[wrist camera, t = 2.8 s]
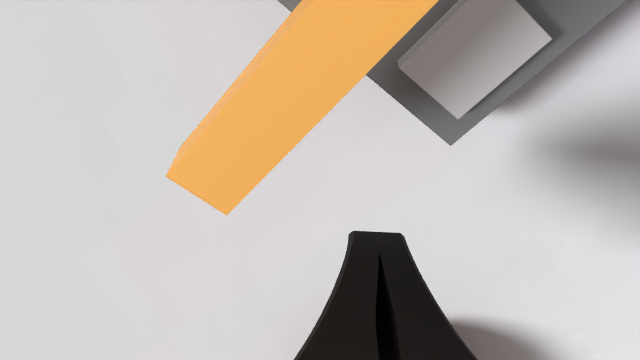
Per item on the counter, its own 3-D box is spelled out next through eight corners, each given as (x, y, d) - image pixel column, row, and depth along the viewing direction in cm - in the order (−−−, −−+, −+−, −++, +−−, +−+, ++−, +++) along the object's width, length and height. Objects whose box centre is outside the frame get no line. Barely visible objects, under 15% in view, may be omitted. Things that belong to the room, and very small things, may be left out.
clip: (540, -358, 7) (569, -383, 6) (652, -199, 8) (692, -198, 7) (158, 131, 12) (141, 160, 11) (255, 197, 13) (248, 229, 12)
